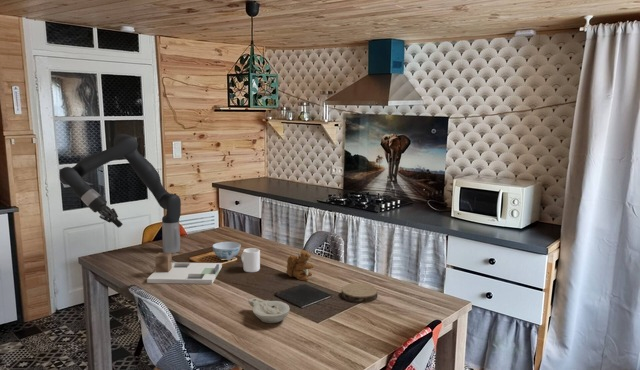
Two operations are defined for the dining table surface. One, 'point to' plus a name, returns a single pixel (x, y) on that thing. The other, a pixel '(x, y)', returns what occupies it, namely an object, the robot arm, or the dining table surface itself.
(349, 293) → the wood slice
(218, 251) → the chinaware
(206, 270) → the pad
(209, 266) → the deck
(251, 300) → the oil lamp
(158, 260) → the block
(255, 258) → the mug
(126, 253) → the dining table surface
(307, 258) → the stuffed squirrel
